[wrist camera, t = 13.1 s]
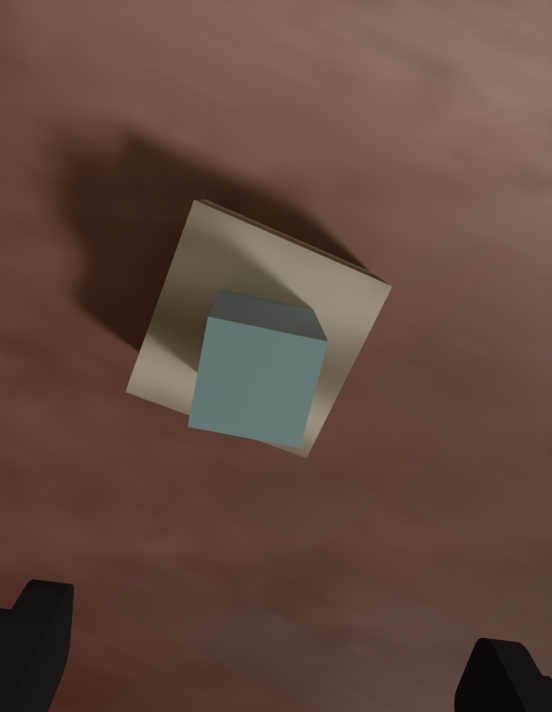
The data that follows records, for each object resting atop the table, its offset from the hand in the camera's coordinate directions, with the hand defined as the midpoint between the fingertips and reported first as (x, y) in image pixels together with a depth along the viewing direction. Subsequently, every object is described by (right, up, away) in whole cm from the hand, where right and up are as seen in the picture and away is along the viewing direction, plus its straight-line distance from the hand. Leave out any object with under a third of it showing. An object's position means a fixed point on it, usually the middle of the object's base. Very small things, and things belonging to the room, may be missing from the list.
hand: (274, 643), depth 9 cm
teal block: (-1, +6, +17) cm, 18 cm away
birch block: (-1, +8, +22) cm, 24 cm away
